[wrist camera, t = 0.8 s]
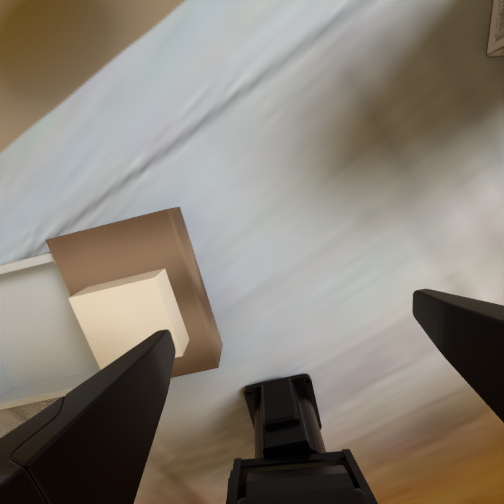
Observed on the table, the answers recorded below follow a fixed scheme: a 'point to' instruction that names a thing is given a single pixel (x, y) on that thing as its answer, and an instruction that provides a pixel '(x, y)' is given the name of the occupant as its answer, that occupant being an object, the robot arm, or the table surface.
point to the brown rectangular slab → (143, 261)
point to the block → (128, 314)
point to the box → (39, 334)
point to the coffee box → (496, 30)
